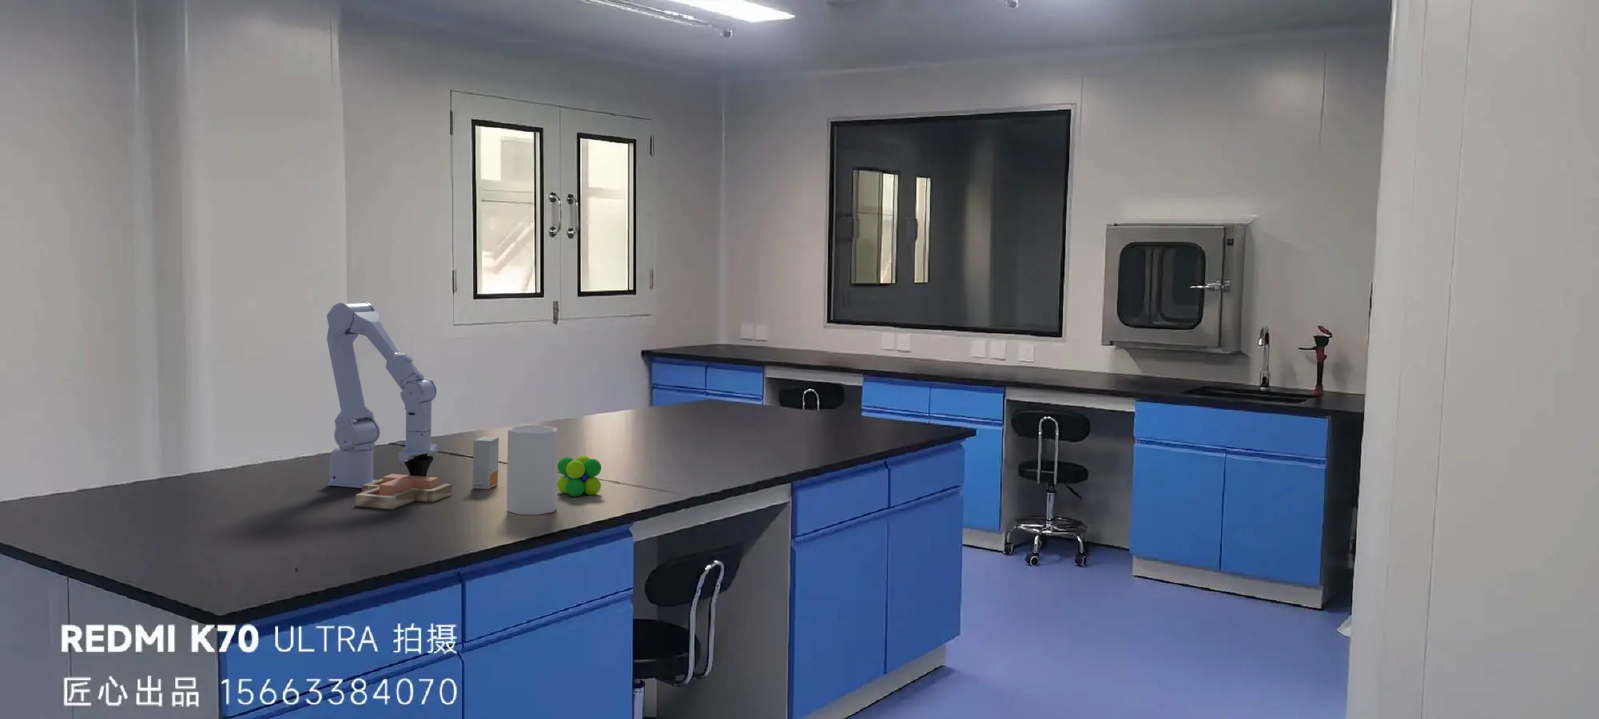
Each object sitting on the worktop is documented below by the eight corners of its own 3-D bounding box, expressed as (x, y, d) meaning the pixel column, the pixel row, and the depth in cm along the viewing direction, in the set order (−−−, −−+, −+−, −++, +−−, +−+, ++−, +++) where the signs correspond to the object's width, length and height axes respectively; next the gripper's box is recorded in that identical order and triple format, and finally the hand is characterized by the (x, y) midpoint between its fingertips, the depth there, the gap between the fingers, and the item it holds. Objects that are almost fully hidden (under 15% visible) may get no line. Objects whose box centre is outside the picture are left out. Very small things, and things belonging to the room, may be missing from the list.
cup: (512, 517, 250) (514, 433, 248) (501, 506, 260) (502, 425, 258) (562, 513, 255) (564, 431, 253) (549, 503, 265) (551, 424, 263)
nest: (337, 504, 256) (337, 493, 256) (382, 488, 273) (382, 478, 273) (410, 510, 252) (411, 499, 252) (451, 494, 270) (451, 484, 270)
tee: (363, 500, 260) (363, 483, 260) (391, 490, 272) (392, 473, 272) (411, 504, 258) (411, 487, 258) (438, 494, 270) (438, 477, 269)
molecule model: (570, 499, 270) (603, 495, 276) (571, 462, 269) (604, 459, 275) (554, 492, 277) (586, 488, 282) (554, 456, 276) (587, 453, 282)
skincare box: (488, 489, 277) (489, 441, 276) (472, 488, 277) (472, 439, 276) (498, 485, 283) (499, 437, 282) (482, 483, 283) (482, 436, 282)
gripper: (417, 435, 263) (417, 493, 264) (449, 427, 277) (448, 482, 278) (390, 433, 264) (389, 491, 266) (422, 425, 279) (422, 480, 280)
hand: (418, 486), depth 272 cm, fingers closed
